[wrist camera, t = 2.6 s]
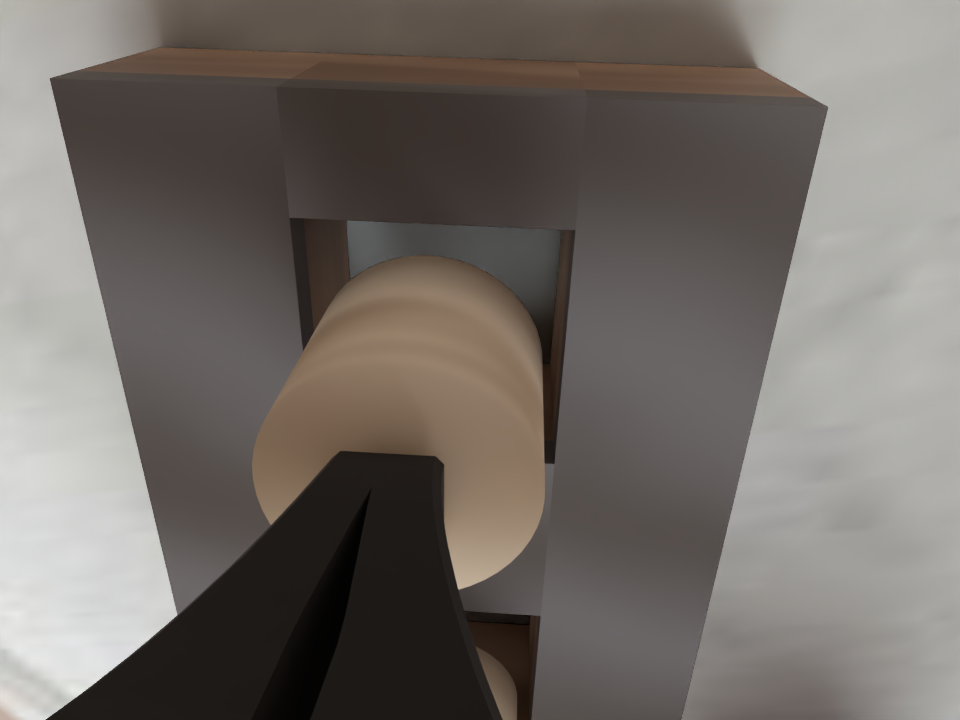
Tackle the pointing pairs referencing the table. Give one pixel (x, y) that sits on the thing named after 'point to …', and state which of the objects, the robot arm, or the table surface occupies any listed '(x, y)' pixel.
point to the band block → (471, 202)
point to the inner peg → (500, 685)
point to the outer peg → (421, 401)
